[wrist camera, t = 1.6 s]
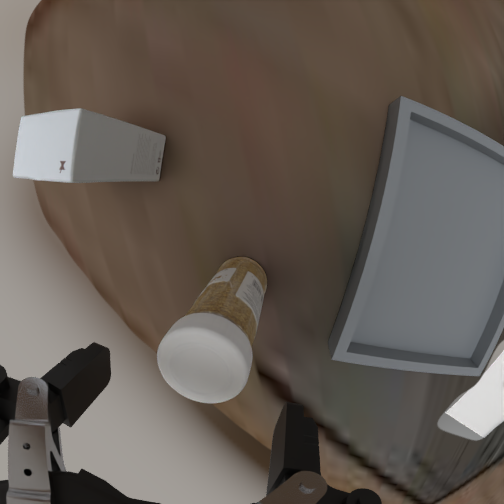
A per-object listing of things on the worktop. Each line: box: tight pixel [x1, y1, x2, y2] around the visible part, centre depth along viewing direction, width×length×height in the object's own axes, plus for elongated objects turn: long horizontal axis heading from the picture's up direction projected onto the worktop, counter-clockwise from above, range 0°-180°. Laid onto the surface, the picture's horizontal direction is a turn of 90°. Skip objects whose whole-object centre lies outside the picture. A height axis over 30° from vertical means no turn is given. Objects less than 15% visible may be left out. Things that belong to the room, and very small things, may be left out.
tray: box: [328, 96, 504, 376], centre depth 21 cm, size 22×18×3 cm
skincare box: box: [13, 108, 166, 183], centre depth 19 cm, size 6×4×12 cm
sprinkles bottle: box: [157, 257, 267, 403], centre depth 19 cm, size 5×5×13 cm
